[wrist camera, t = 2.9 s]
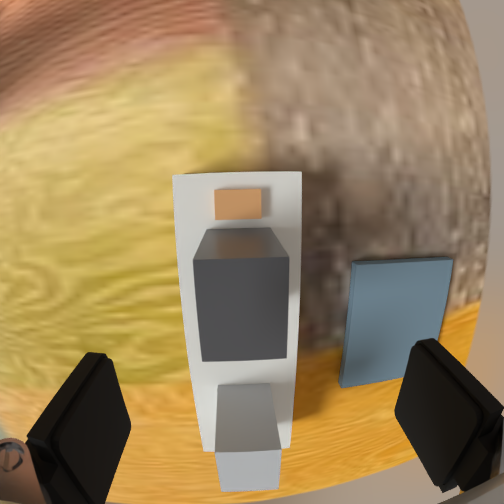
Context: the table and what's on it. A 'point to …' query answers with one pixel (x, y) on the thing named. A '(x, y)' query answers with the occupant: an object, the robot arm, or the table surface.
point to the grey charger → (247, 438)
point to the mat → (391, 315)
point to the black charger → (241, 295)
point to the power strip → (187, 242)
